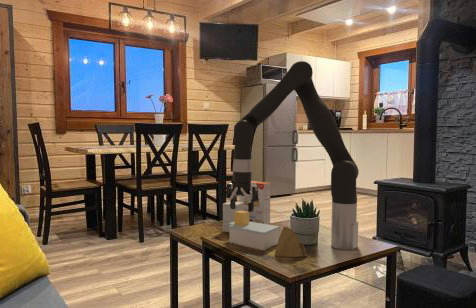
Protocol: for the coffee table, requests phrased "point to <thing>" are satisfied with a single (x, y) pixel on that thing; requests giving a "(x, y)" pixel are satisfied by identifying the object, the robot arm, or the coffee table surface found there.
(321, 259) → the coffee table surface
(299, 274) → the coffee table surface
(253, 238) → the tub
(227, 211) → the supplement box
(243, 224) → the lid
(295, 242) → the rock
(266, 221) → the cracker box
